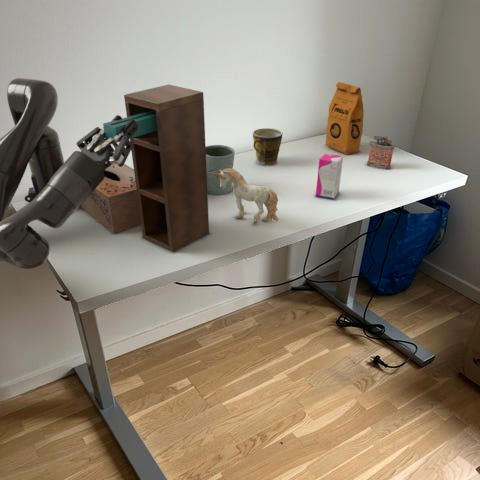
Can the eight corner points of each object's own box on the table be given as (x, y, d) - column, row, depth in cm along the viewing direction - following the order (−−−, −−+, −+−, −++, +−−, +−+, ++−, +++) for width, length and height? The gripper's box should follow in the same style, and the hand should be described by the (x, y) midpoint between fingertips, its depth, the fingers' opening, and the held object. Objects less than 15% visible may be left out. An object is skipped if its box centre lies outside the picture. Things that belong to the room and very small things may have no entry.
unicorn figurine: (216, 208, 141) (214, 162, 133) (283, 217, 137) (285, 169, 129) (208, 219, 135) (206, 172, 127) (277, 228, 131) (280, 180, 123)
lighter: (391, 167, 167) (397, 137, 161) (388, 170, 165) (394, 139, 159) (369, 162, 170) (373, 132, 164) (365, 165, 168) (370, 135, 162)
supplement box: (339, 192, 150) (344, 155, 143) (333, 200, 146) (338, 161, 139) (320, 189, 152) (324, 152, 145) (314, 196, 148) (318, 158, 141)
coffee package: (342, 156, 175) (351, 90, 162) (321, 146, 184) (327, 82, 170) (364, 152, 179) (374, 86, 166) (341, 142, 188) (349, 79, 174)
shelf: (172, 252, 121) (158, 103, 100) (142, 238, 127) (123, 94, 106) (209, 233, 129) (203, 92, 108) (179, 221, 135) (168, 84, 114)
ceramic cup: (262, 155, 176) (263, 126, 170) (286, 161, 172) (288, 131, 165) (241, 165, 168) (241, 136, 162) (265, 172, 163) (267, 141, 157)
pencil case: (117, 142, 101) (114, 126, 99) (105, 138, 103) (102, 122, 101) (193, 119, 114) (193, 105, 112) (181, 116, 116) (180, 102, 114)
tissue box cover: (161, 218, 136) (157, 183, 130) (114, 233, 129) (108, 197, 123) (117, 189, 152) (112, 156, 146) (73, 201, 145) (65, 167, 139)
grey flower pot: (206, 181, 157) (205, 143, 149) (237, 184, 155) (237, 145, 148) (198, 194, 149) (196, 154, 142) (230, 197, 147) (230, 157, 140)
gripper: (66, 184, 106) (116, 127, 110) (107, 202, 99) (159, 141, 102) (44, 159, 100) (97, 100, 103) (85, 176, 92) (141, 112, 96)
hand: (128, 120), depth 103 cm, fingers closed on pencil case, 4 cm apart
